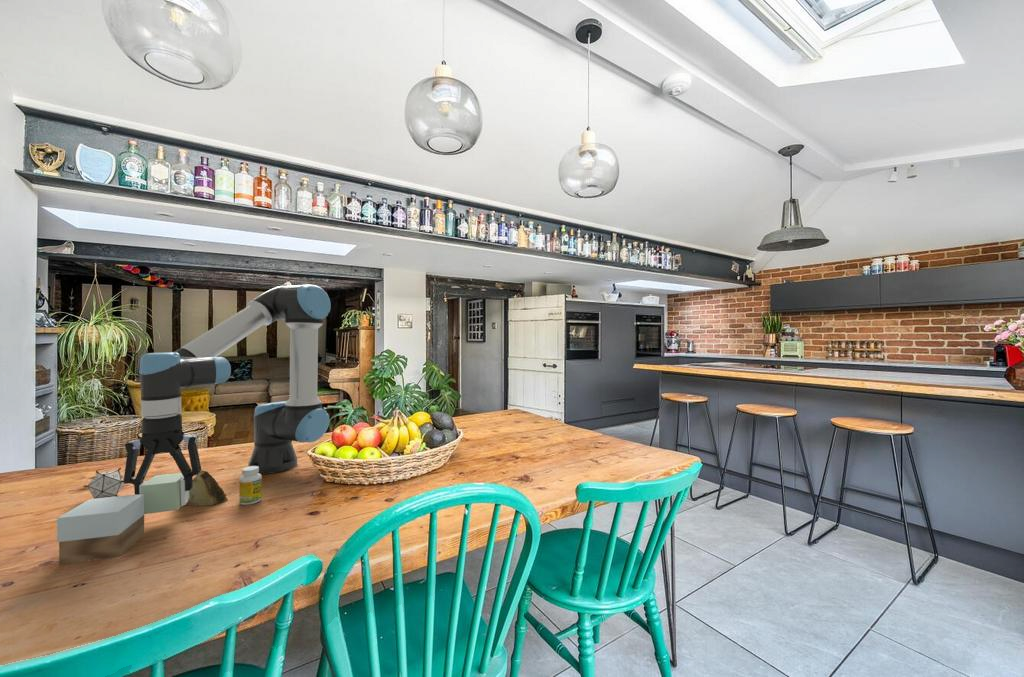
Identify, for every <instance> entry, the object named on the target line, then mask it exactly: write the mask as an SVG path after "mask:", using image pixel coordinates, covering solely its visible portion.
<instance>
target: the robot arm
mask: <svg viewBox="0 0 1024 677" xmlns="http://www.w3.org/2000/svg"><path fill="white" fill-rule="evenodd" d="M330 312H331V299H330V297H329V295H328V293H327V292H325V289H323V288H322V287H320V286H318V285H314V284H294V285H280V286H276V287H273V288H271V289H269V290H267V291H265V292H263V293H261V294H260V295H258V296H256V297H255V298H253V299H251V300H250V301H248V302H247V304H246V307H244V309H243V308H242V309H241V310H240V311H238V312H235V314H233V315H232V316H230V317H229V318H227V319H225V320H224V321H222V322H220V323H219V324H217V325H215V326H214V327H212V328H210V329H209V330H207V331H206V332H204V333H203V334H200V335H199V336H198V337H196V338H194V339H193V340H191V341H190V342H187V343H186V344H184V345H183V346H181V347H180V348H178V349H176V350H174V351H173V352H171V351H169V352H168V351H167V352H149V353H144V354H142V355H141V356H140V359H139V361H140V362H139V371H138V374H139V382H140V413H141V414H140V416H142V417H143V418H141V437H140V439H135V440H134V439H133V440H132V439H131V440H130V441H128V442H127V443H125V445H124V447H125V450H126V460H125V466H124V474H123V475H124V476H123V478H124V483H125V484H124V485H127V484H130V485H133V487H134V488H133V490H134V495H138V494H141V485H143V484H144V483H145V482H147V481H148V480H146V476H147V473H148V471H149V469H150V467H151V465H152V462H153V460H154V458H155V456H156V455H158V454H162V453H163V454H169V455H170V457H172V458H173V460H174V462H175V464H176V466H177V467H178V469H179V471H180V473H182V475H183V478H182V479H181V480H180V489H181V507H183V506H185V505H187V504H186V503H187V502H188V491H189V490H191V489H192V487H193V477H194V476H196V475H197V474H198V473H199V472H200V471H202V466H201V465H202V464H201V460H200V454H199V451H198V445H197V442H198V439H199V436H198V434H193V435H189V434H185V433H184V431H183V414H181V413H180V412H182V411H183V410H182V389H187V388H193V387H194V388H195V387H203V386H211V385H212V386H215V385H217V384H221V383H225V382H227V381H228V380H229V379H230V377H231V374H232V372H231V371H232V368H231V367H232V366H231V364H230V362H229V360H228V359H227V358H225V357H224V356H220V355H221V354H223V353H224V352H225V351H227V350H229V349H230V348H231V347H233V346H235V345H236V344H238V343H239V342H240V341H241V340H243V339H245V338H246V337H247V336H249V335H251V334H252V333H253V332H254V331H256V330H258V329H259V328H261V327H262V326H269V325H271V324H272V323H274V322H277V321H279V320H284V323H285V325H286V326H287V327H288V328H289V329H290V330H289V332H290V333H289V334H290V336H289V398H288V399H287V400H284V401H276V402H275V401H274V402H268V403H263V404H258V405H257V406H255V408H254V413H253V433H254V434H253V437H254V438H253V442H254V443H253V444H254V445H253V450H252V453H251V456H250V458H249V461H248V463H247V464H248V465H247V467H249V466H258V467H259V472H258V473H259V474H261V475H263V474H264V475H265V474H272V473H279V472H284V471H287V470H290V469H292V468H294V467H296V466H297V465H298V456H297V454H296V453H297V452H296V450H295V448H294V445H293V442H297V443H303V444H304V443H314V442H315V443H316V442H317V441H318V440H320V439H321V438H322V437H323V436H324V434H325V433H326V432H327V430H328V428H329V424H330V414H329V413H328V411H327V410H326V409H324V408H323V401H322V400H321V399H320V398H319V396H318V380H319V379H318V378H319V376H318V371H319V370H318V369H319V368H318V366H319V365H318V363H319V362H318V361H319V358H318V357H319V353H318V352H319V328H321V327H322V326H323V325H324V319H325V318H326V317H328V316H329V313H330ZM183 441H184V442H185V443H184V444H186V445H187V451H188V457H189V462H190V465H189V463H188V461H187V459H186V457H185V455H184V454H183V452H182V449H181V446H180V444H181V443H182V442H183ZM141 445H142V446H143V447H144V448H145V449H146V451H145V452H146V453H145V454H144V457H143V460H142V462H141V464H140V467H139V469H138V471H137V474H136V470H137V463H138V457H139V456H138V455H139V449H140V448H141Z"/></svg>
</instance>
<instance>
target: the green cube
mask: <svg viewBox="0 0 1024 677" xmlns="http://www.w3.org/2000/svg"><path fill="white" fill-rule="evenodd" d="M182 478H183V475H182V473H181V472H176V473H175V472H174V473H164V474H156V475H154V476H153V477H151V478H150V479H148V480H146V481H147V482H145V483H144V484H143V485H141V494H144V515H148V514H156V513H163V512H164V513H165V512H171V511H172V512H173V511H178V510H179V509H180V508H181V507H182V506H181V489H180V480H181V479H182ZM189 498H190V497H189V491H188V499H189Z"/></svg>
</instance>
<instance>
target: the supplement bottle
mask: <svg viewBox="0 0 1024 677" xmlns="http://www.w3.org/2000/svg"><path fill="white" fill-rule="evenodd" d="M258 472H259V467H258V466H249V467H248V466H246V467H243V468H242V470H241V474H242V475H241V476H240V477H239V479H238V480H239V481H238V484H239V487H238V488H239V494H238V495H239V497H238V498H239V501H238V502H239V504H240V505H242V506H249V505H254V504H256V503H259V502H261V500H262V491H263V490H262V488H263V487H262V485H263V484H262V482H263V481H262V480H263V478H262V474H259V473H258Z"/></svg>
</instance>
